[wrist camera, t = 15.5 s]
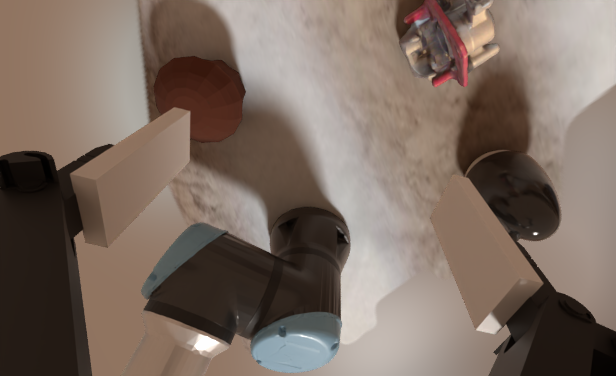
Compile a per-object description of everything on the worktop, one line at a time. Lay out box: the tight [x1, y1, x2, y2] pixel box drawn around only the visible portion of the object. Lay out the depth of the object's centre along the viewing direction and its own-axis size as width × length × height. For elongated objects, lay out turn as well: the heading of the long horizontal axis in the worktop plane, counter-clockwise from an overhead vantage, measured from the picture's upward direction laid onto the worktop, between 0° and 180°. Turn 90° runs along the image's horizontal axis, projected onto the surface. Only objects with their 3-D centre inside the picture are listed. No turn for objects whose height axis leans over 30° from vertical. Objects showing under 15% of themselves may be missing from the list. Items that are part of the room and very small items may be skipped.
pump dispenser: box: [465, 150, 561, 241], centre depth 42 cm, size 10×10×15 cm
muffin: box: [154, 56, 246, 143], centre depth 42 cm, size 12×11×10 cm
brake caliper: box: [399, 0, 499, 87], centre depth 36 cm, size 11×11×12 cm
